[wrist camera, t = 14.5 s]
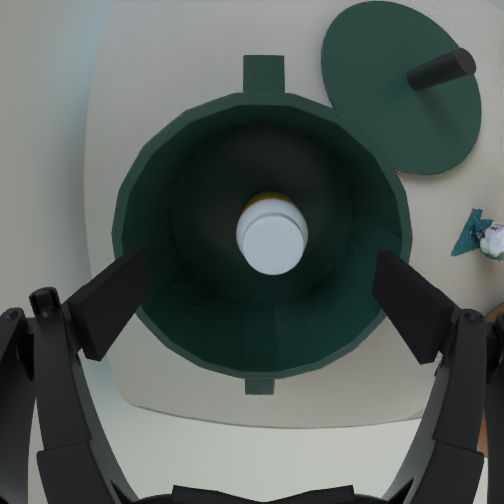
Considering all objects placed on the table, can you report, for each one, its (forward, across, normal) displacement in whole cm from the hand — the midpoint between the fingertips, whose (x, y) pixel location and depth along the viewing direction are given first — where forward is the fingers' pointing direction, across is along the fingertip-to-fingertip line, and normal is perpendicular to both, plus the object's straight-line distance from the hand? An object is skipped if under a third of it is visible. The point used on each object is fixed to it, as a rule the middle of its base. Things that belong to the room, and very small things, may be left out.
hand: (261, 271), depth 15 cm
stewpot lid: (+13, +16, +16) cm, 26 cm away
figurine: (+14, +28, +1) cm, 31 cm away
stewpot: (+13, 0, 0) cm, 13 cm away
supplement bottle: (+13, +1, 0) cm, 13 cm away
